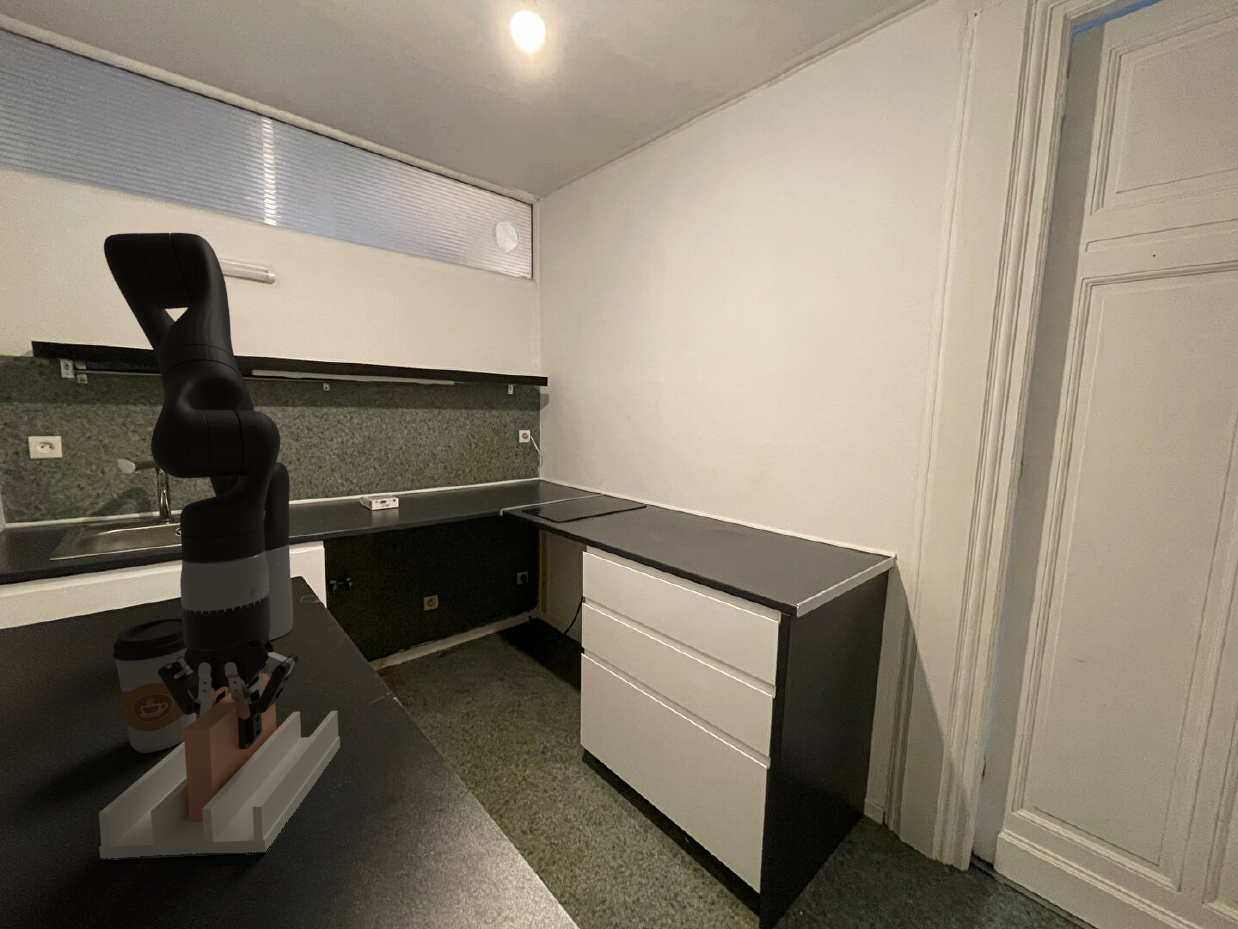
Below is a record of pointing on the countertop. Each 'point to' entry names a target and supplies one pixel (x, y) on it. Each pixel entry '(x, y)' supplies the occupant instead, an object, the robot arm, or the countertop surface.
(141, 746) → the coffee cup
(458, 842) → the countertop surface
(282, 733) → the dish rack
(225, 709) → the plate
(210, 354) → the robot arm
